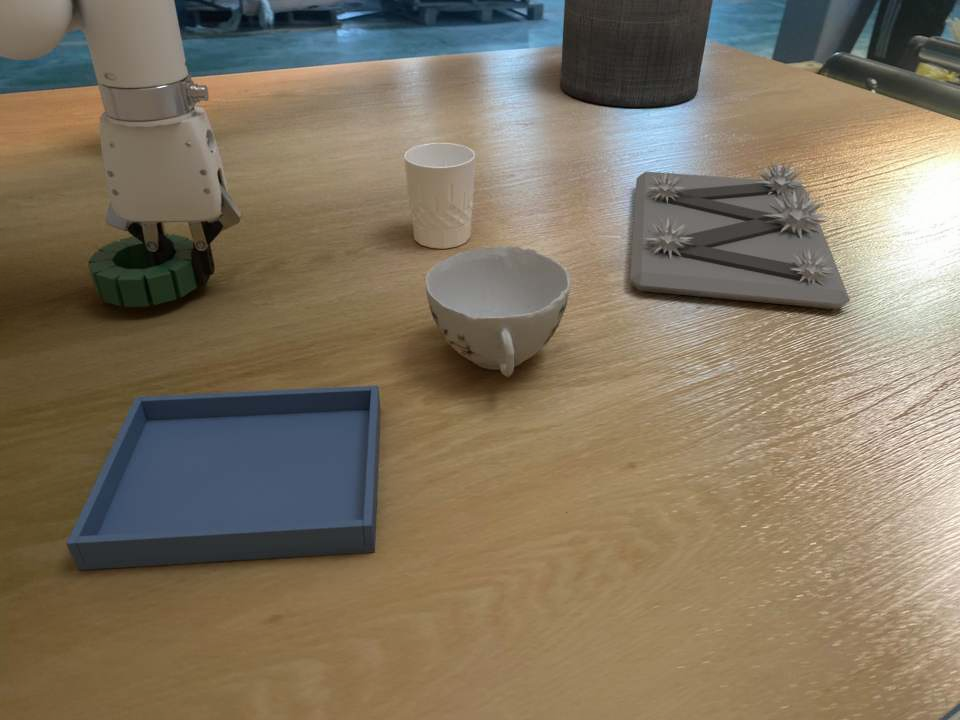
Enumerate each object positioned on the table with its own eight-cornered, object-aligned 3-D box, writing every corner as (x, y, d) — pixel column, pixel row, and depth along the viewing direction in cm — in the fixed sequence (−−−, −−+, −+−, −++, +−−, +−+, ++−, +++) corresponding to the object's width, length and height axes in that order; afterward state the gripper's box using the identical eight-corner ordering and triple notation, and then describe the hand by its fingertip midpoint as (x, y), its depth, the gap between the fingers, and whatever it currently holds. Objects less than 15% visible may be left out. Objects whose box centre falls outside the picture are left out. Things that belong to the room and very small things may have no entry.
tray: (78, 570, 49) (65, 543, 48) (143, 422, 62) (135, 396, 60) (374, 552, 51) (371, 525, 49) (380, 410, 63) (378, 385, 62)
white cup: (461, 256, 86) (460, 171, 80) (397, 245, 88) (392, 162, 82) (484, 227, 92) (484, 146, 86) (423, 218, 94) (420, 139, 88)
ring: (82, 308, 74) (73, 280, 72) (114, 259, 82) (107, 234, 80) (190, 305, 74) (184, 278, 73) (212, 257, 83) (207, 232, 81)
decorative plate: (635, 186, 103) (641, 134, 99) (802, 198, 99) (815, 145, 95) (628, 296, 79) (636, 233, 75) (847, 317, 75) (869, 252, 71)
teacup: (427, 319, 75) (423, 245, 70) (552, 314, 76) (557, 241, 71) (430, 416, 63) (427, 334, 58) (580, 408, 63) (589, 328, 59)
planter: (544, 73, 150) (550, -53, 137) (666, 68, 154) (683, -56, 141) (581, 112, 129) (593, -33, 117) (721, 105, 133) (746, -36, 121)
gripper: (247, 87, 72) (273, 262, 82) (69, 87, 70) (119, 265, 81) (232, 111, 66) (263, 296, 76) (37, 111, 64) (95, 300, 75)
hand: (188, 279), depth 78 cm, fingers closed on ring, 2 cm apart
